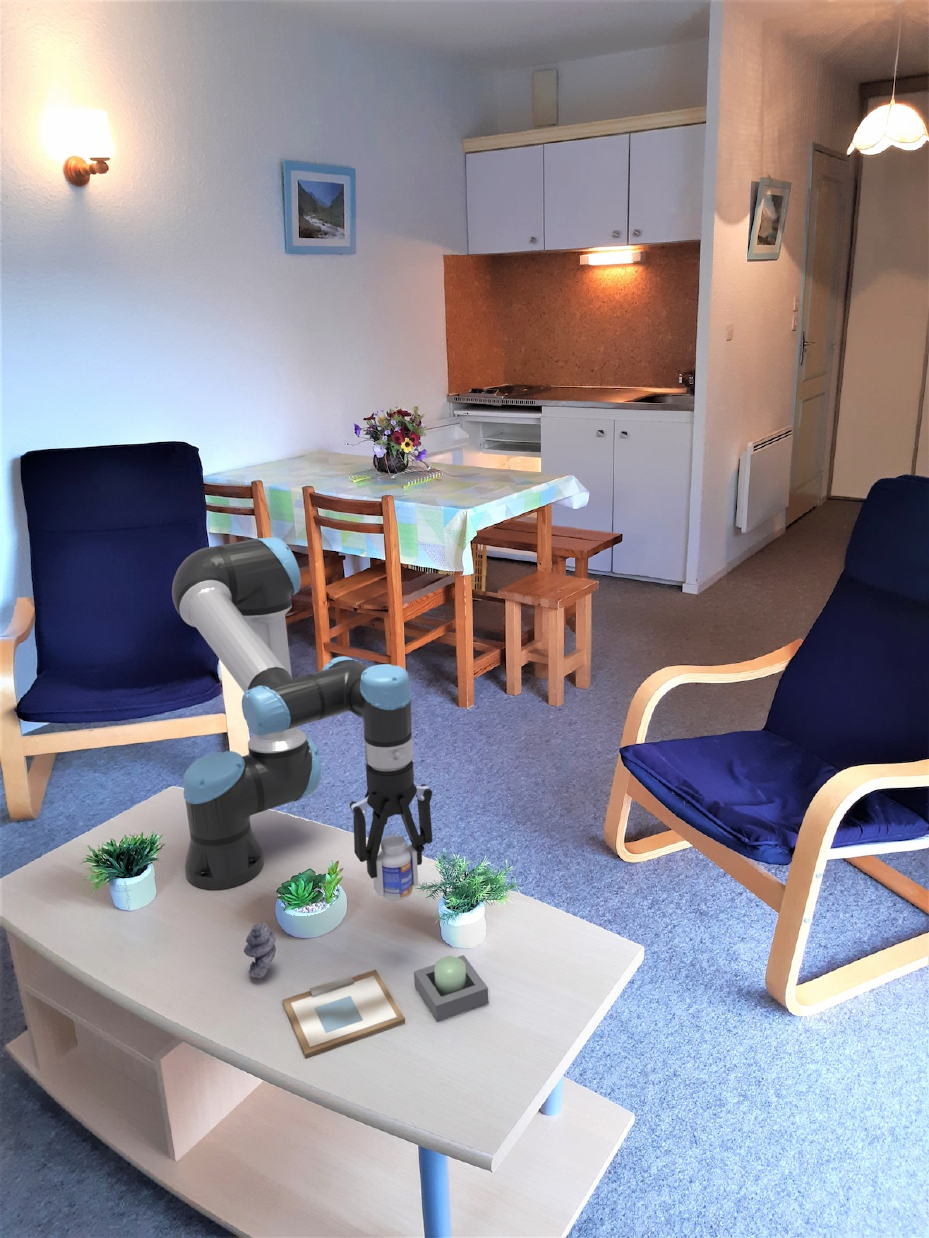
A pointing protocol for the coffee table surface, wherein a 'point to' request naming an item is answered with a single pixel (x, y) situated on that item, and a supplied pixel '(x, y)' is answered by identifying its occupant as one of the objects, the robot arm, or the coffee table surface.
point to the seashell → (260, 949)
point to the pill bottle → (396, 868)
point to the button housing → (455, 1001)
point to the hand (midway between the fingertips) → (395, 886)
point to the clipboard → (342, 1012)
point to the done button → (450, 975)
